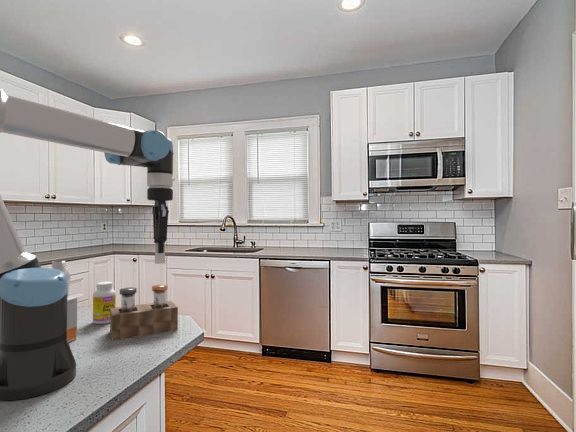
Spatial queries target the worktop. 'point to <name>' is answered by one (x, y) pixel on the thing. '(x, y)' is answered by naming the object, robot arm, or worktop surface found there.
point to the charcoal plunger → (128, 299)
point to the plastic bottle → (61, 266)
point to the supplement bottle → (103, 302)
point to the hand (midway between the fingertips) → (159, 263)
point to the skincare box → (71, 318)
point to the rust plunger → (159, 295)
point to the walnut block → (143, 320)
